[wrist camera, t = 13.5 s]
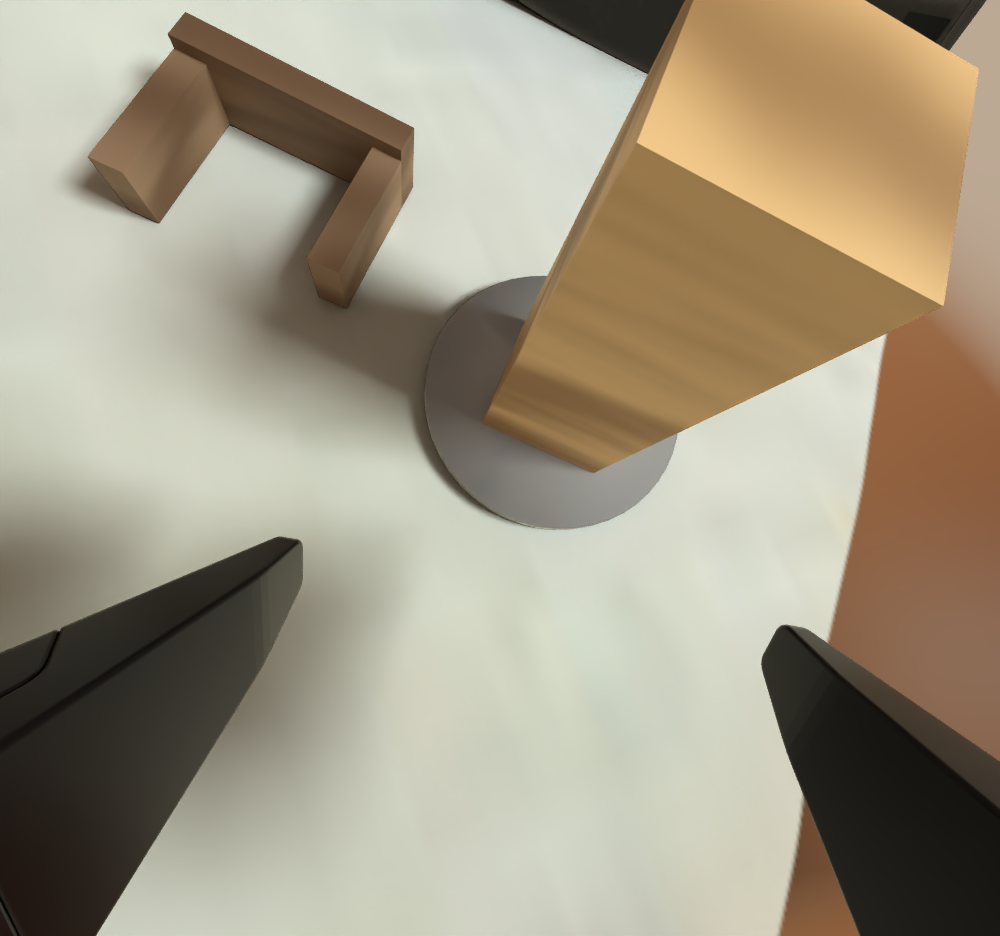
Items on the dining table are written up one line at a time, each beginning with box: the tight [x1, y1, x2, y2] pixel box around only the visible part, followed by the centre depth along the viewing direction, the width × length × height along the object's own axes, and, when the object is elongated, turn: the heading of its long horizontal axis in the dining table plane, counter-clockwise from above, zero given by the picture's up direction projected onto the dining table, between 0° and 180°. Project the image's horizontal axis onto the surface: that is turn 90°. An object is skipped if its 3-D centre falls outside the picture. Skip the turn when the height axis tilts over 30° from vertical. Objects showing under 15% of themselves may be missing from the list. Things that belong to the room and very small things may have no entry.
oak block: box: [482, 0, 979, 473], centre depth 13 cm, size 5×5×13 cm
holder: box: [88, 12, 414, 309], centre depth 18 cm, size 7×9×3 cm
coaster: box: [425, 276, 677, 530], centre depth 20 cm, size 11×11×1 cm
